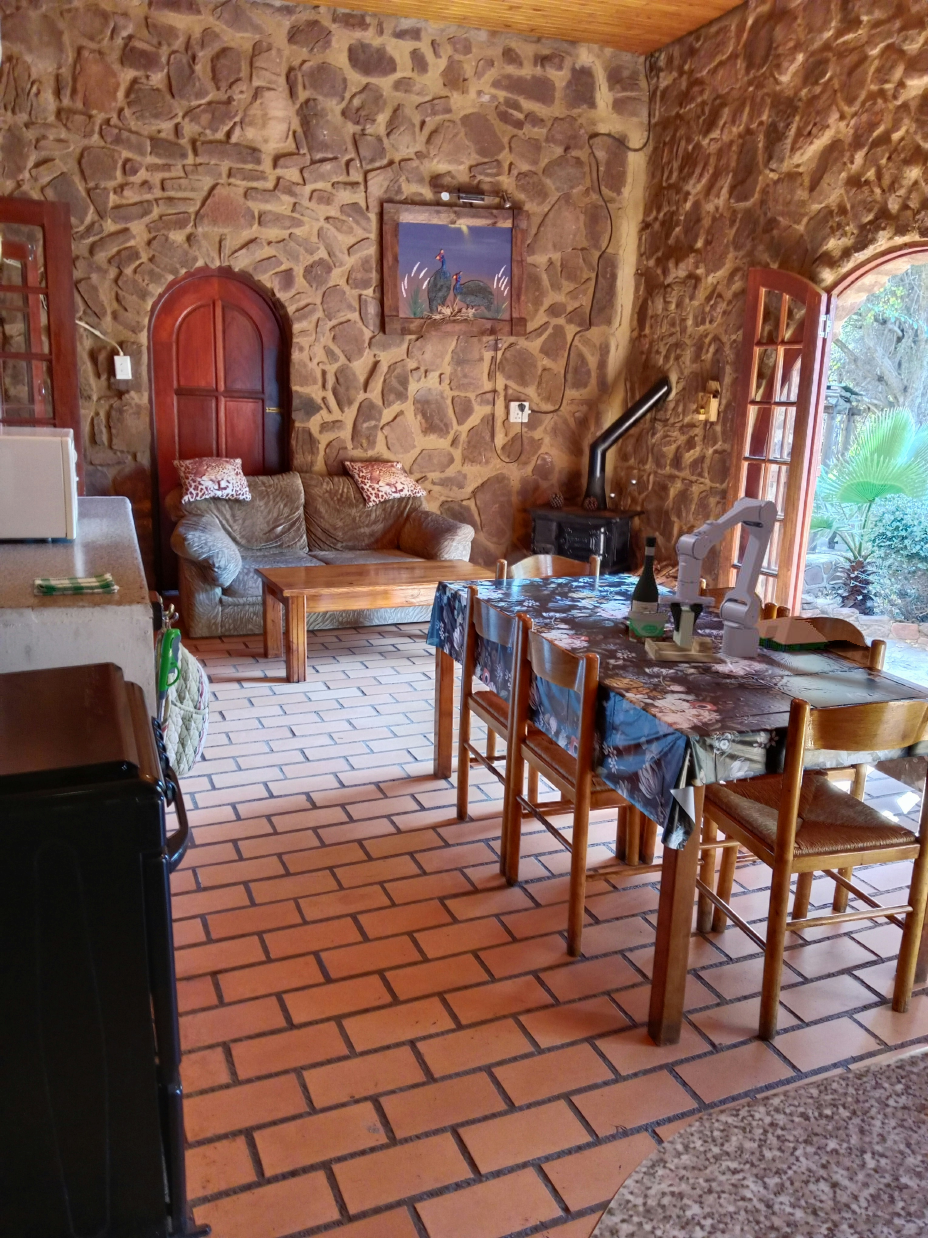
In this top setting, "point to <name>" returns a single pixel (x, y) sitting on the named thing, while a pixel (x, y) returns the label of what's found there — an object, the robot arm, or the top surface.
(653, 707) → the top surface
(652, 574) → the wine bottle
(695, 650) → the offcut lower
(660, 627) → the food container
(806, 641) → the house
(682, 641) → the pale green block
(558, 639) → the top surface
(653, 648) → the rack
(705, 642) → the offcut upper
